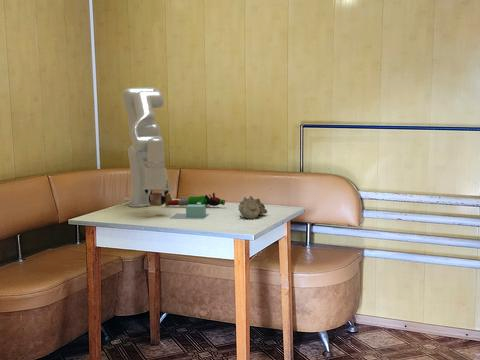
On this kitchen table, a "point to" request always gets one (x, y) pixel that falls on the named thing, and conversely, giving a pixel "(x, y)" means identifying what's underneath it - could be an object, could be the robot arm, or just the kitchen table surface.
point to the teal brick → (196, 211)
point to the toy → (195, 201)
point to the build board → (183, 216)
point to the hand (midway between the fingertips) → (157, 203)
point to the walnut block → (155, 199)
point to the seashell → (251, 208)
